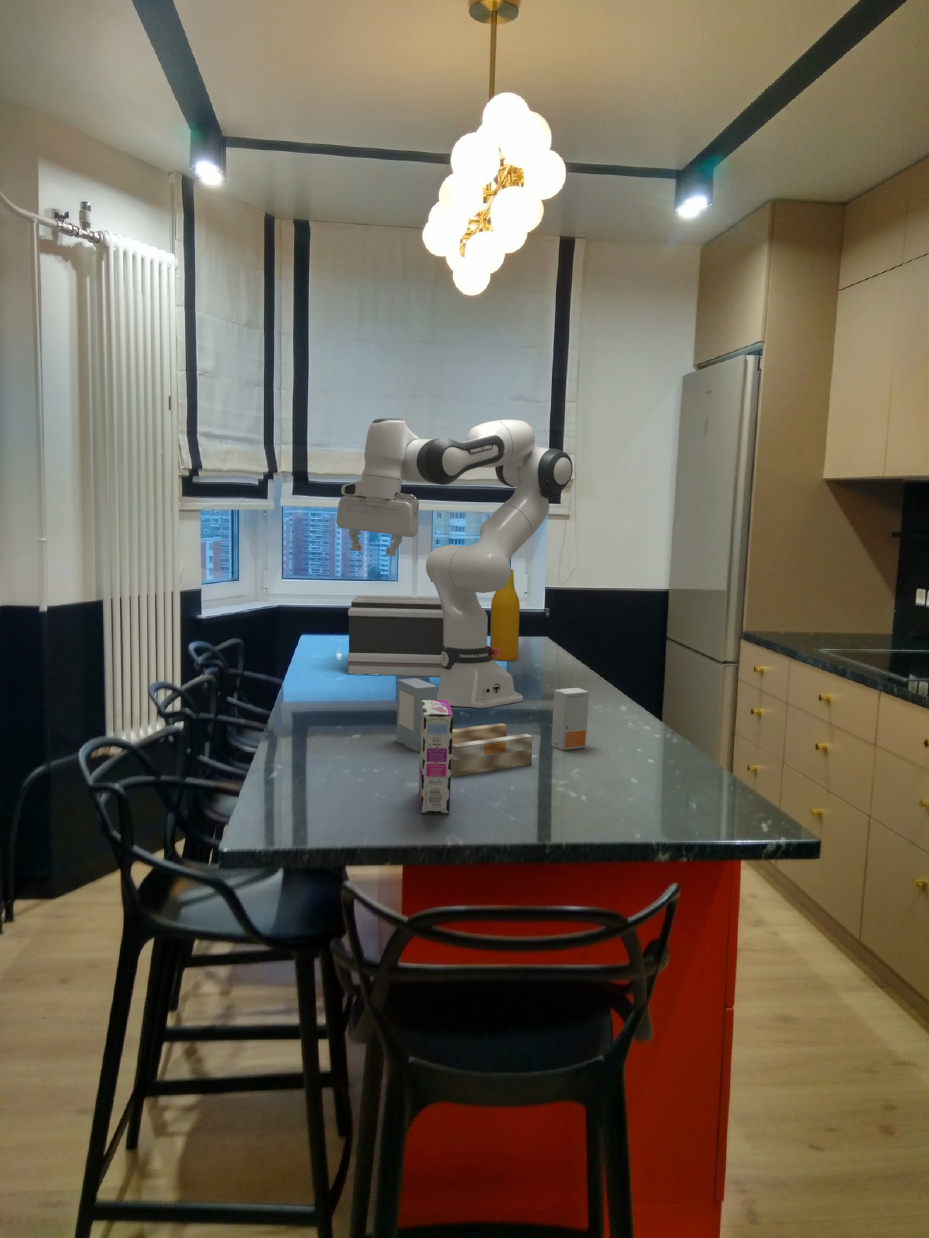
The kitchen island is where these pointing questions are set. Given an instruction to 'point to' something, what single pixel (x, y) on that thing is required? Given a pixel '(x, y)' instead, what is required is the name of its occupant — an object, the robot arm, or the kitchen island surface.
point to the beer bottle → (505, 622)
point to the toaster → (395, 636)
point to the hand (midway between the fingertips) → (373, 553)
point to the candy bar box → (435, 757)
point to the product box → (412, 709)
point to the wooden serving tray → (488, 749)
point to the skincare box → (570, 718)
